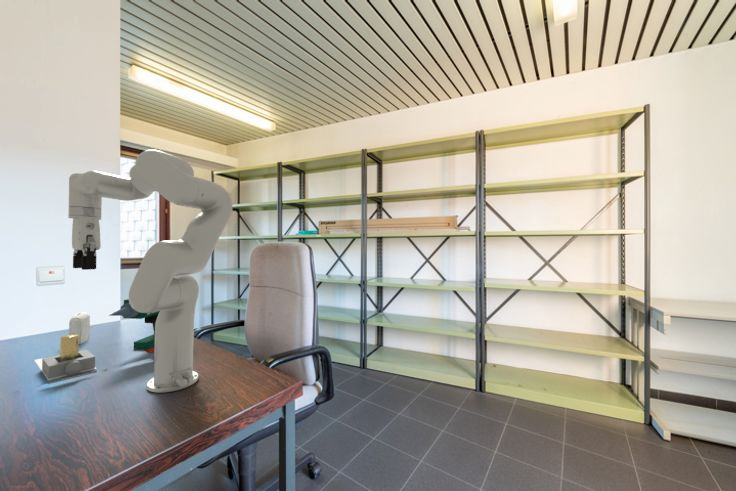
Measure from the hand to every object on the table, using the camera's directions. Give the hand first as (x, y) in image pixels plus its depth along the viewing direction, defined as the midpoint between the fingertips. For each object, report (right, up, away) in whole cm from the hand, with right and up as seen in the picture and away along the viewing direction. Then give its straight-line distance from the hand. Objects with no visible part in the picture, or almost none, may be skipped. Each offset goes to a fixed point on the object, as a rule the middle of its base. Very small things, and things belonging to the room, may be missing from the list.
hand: (84, 268), depth 94 cm
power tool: (+5, -33, +19) cm, 38 cm away
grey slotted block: (-8, -32, +2) cm, 33 cm away
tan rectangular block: (-3, -31, -2) cm, 31 cm away
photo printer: (-25, -32, +24) cm, 47 cm away
